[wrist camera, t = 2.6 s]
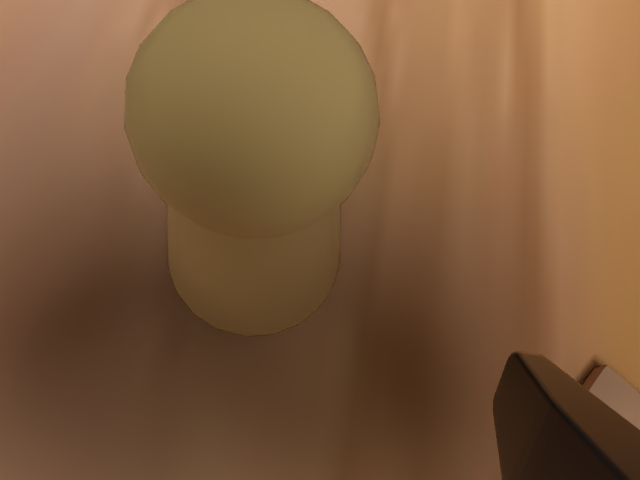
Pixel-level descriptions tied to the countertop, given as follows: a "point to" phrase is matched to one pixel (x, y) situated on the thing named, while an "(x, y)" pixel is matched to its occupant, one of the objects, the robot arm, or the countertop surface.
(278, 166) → the cork
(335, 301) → the countertop surface
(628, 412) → the shaker holder
